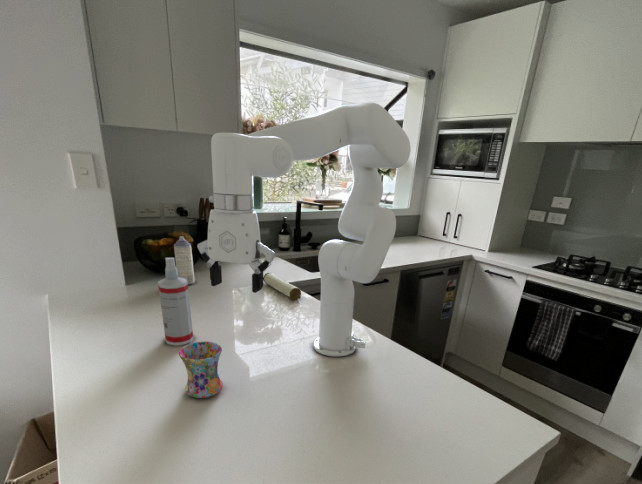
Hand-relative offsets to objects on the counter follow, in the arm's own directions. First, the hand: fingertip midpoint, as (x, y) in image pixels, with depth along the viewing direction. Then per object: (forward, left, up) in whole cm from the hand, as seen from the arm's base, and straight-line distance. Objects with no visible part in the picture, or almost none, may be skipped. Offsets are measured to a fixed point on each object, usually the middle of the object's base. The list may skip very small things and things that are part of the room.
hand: (236, 287), depth 80 cm
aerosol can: (+62, -67, -26) cm, 95 cm away
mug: (+9, +2, -26) cm, 27 cm away
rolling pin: (+20, -72, -26) cm, 79 cm away
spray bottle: (+30, -18, -26) cm, 43 cm away
